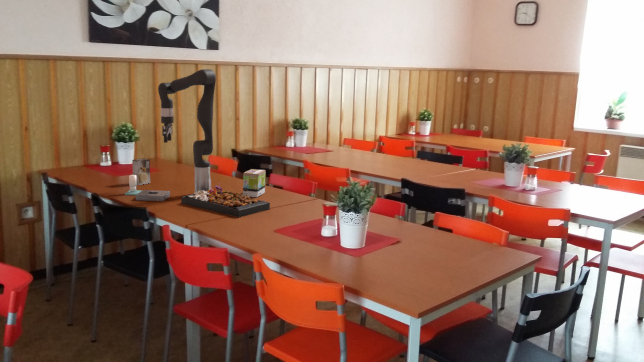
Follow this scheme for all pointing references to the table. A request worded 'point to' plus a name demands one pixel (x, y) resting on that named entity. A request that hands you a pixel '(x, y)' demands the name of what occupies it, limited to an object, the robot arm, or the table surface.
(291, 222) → the table surface
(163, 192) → the socket block
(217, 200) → the food platter
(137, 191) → the teal square tile
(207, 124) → the robot arm
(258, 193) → the tea box
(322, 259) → the table surface
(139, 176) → the coffee box
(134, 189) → the cream rounded tapered piece
